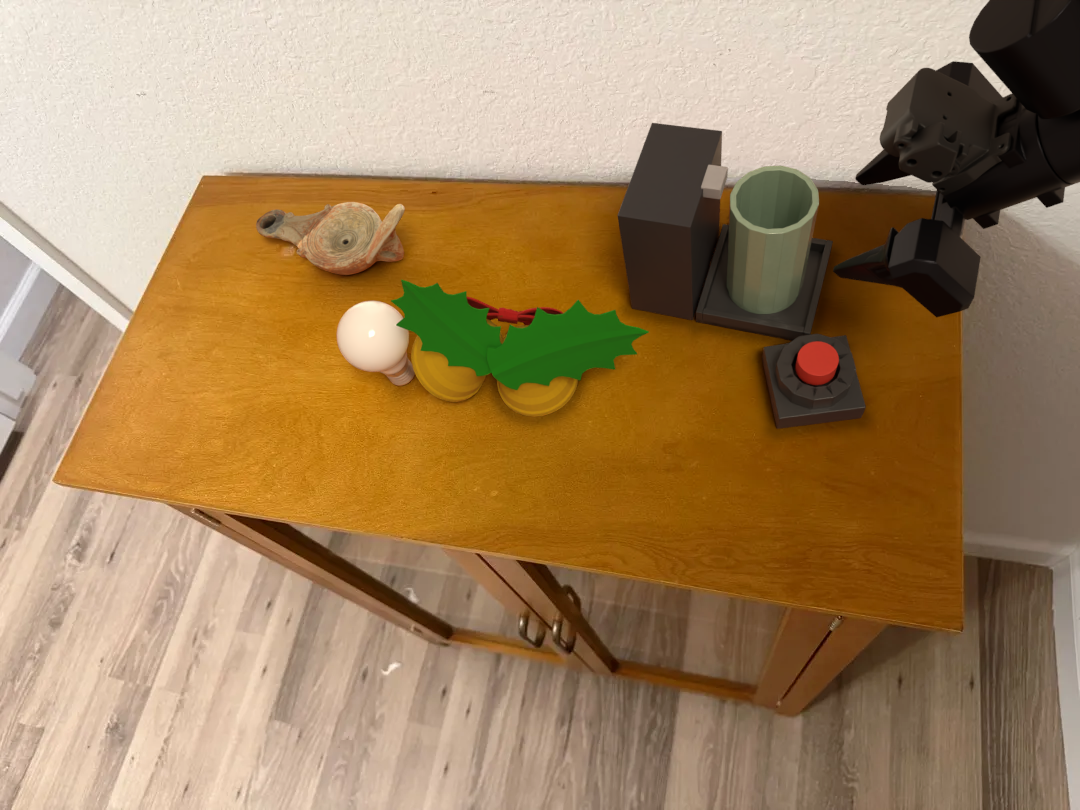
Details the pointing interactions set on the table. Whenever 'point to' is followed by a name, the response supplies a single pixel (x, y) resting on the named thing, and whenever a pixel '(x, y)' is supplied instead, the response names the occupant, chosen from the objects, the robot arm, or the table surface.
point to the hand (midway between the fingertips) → (847, 225)
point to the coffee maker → (695, 238)
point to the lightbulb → (375, 341)
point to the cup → (769, 237)
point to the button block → (808, 401)
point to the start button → (816, 363)
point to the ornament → (508, 347)
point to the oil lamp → (338, 235)
